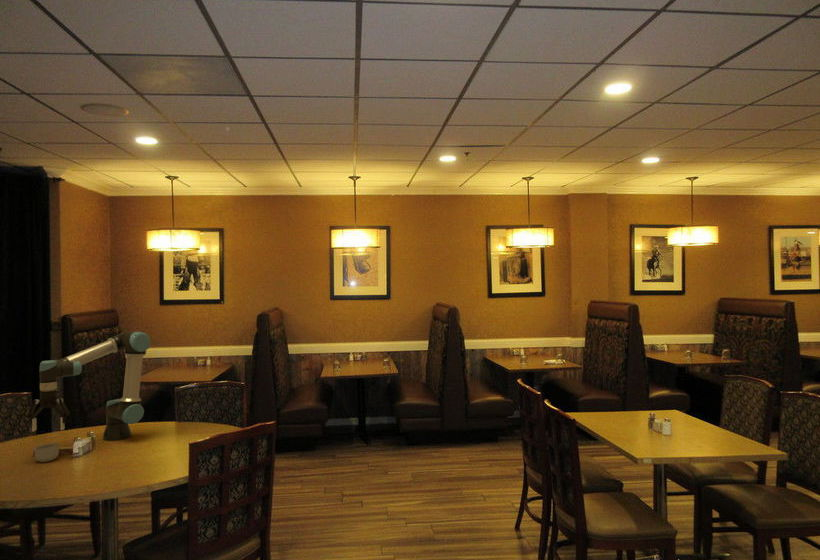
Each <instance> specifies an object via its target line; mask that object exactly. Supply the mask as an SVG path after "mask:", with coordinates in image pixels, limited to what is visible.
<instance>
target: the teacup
mask: <svg viewBox="0 0 820 560" xmlns="http://www.w3.org/2000/svg"><path fill="white" fill-rule="evenodd" d="M59 445H60V444H59V443H58V441H56V442H55V441H54V442H50V443H49V442H47V443H44V444H41V445H37V446H35V447H33V450H35V456H34V458H35V460H36V461H38V463H39V462H40V463H47V462H51V461H54V460H55V459H56V458H57V457H59V455H58V454H59V448H60V447H59Z"/></svg>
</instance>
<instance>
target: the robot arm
mask: <svg viewBox="0 0 820 560" xmlns="http://www.w3.org/2000/svg"><path fill="white" fill-rule="evenodd" d="M151 343H152V342H151V338H150V336H149V335H148V334H147V333H146V332H141V331H131V330H128V331H127V330H126V331H124V332H121V333H119V334H116V335H114V336H111V337H109V338H108V339H107V340H106V341H103V342H100V343H99V344H95V345H93V346H90V347H88V348H85V349H84V350H80V351H78V352H75V353H73V354H70V355H68V356H65V357H64V358H63V357H62V358H61V359H54V360H53V359H51V360H42V361H41V362H40V364H39V399H37V398H36V399H33V400H32V404H31V406H30V408H29V411H28V412H27V414H26V417H25V418H26V419H30V425H31V430H32V432H35V431H37V427H38V426H37V424H38V423H37V422H38V421H37V416H38V414H39V413H40V412H41V411H42V410H43V409H47V408H48V409H51V408H52V409H54V410H55V411H56V412H57V413H58V414H59V415H60V431H63V430H65V428H66V427H65V424H66V423H67V417H68V416H70V415H71V412H70V411H69V409H68V407H67V405H66V403H65V400H64V398H63V397H62V398H61V397H60V398H58V391H57V390H58V389H57V388H58V383H57V381H58V380H57V379H58V378H64V377H74V376H79V375H80V374H81V373H82V372H83V371H82V370H83V369H82V368H83V366H82V365H85V364H87V363H90V362H92V361H94V360H97V359H99V358H101V357H104V356H107V355H109V354H112V353H113V354H116V353H118V352H123V353H124V355H125V356H126V361H125V362H126V363H125V372H124V381H123V382H124V383H123V392H122V397H121V398H117V399H116V398H115V399H112V400H108V401H106V407H105V408H106V409H105V410H106V412H105V415H106V417H105V418H106V419H105V420H106V424H105V428H104V432H103V434H102V440H103V441H110V442H111V441H119V440H125V439H128V438H130V437H132V431H131V428H130V425H133V424H136V423H138V422H140V420H142V418H143V417H144V413H145V409H144V407H143V406H142V398H140V388H141V387H140V386H141V378H142V369H143V368H142V367H143V360H144V359H143V358H144V356H145V357H146V355H147V350H148V349H149V348H150V346H151ZM38 404H39V406H38V408H37V409H36V407H37V405H38ZM58 404H59V405H58Z"/></svg>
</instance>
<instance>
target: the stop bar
mask: <svg viewBox="0 0 820 560" xmlns="http://www.w3.org/2000/svg"><path fill="white" fill-rule="evenodd" d="M73 447H74V446H70V447H69V446H67V447H59V454H58V456H67V455H73V454H72V453H73ZM32 457H35V450H34V449H33V450H32Z"/></svg>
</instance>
